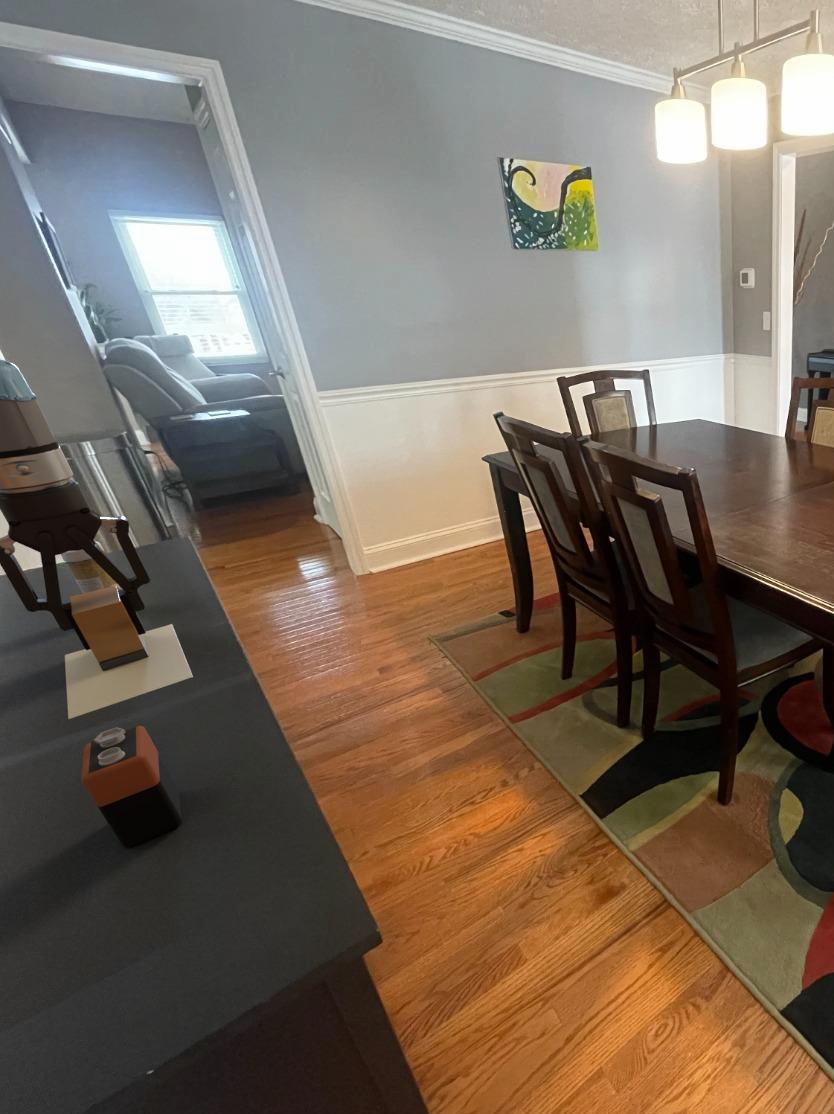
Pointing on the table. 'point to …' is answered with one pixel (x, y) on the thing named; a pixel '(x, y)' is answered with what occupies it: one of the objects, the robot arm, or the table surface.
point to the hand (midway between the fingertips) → (115, 638)
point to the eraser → (108, 628)
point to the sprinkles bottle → (88, 571)
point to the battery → (131, 785)
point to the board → (124, 673)
